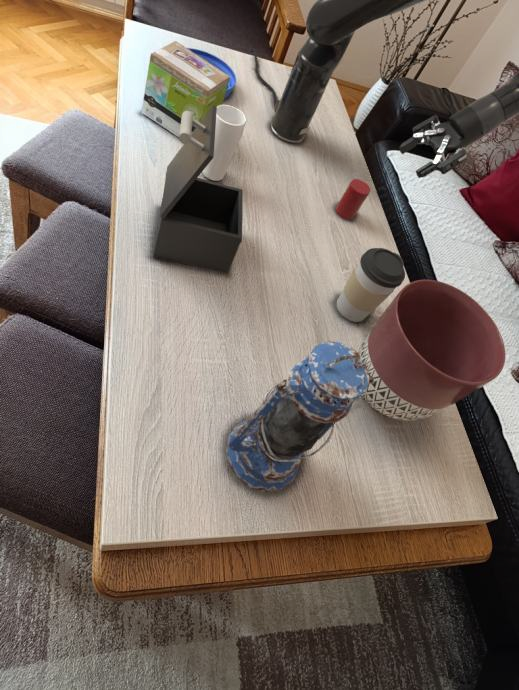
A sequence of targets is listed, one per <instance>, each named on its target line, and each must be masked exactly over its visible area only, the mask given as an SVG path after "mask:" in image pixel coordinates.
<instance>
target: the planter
mask: <svg viewBox="0 0 519 690" xmlns="http://www.w3.org/2000/svg"><path fill="white" fill-rule="evenodd" d="M357 353H358V354H359V355H360V357H361V358H362V359H363V360H364V362H365V364H366V366H367V369H368V372H369V376H372V377H373V379H374V384H370V383H369V385H368V386H367V388H366V390H365V392H364V393H363V394H362V395H361V396H362V397H363V399H364V400H365V401H366V402H367V404H368V405H370V407H371V408H372V409H374V410H375V411H377V412H378V413H380V414H382V415H383V416H385V417H388V418H390V419H393V420H398V421H404V422H405V421H406V422H409V421H419V420H423V419H426V418H429V417H432V416H434V415H437V414H438V413H441V412H442V411H444V410H446V409H447V408H449V407H451V406H452V405H454V404H456V403H457V402H459V401H460V400H462V399H464V398H465V397H467V396H469V395H471V394H472V393H474V392H476V391H478V390H479V389H481V388H483V387H484V386H486V385H488V384H489V383H490V382H492V381H493V380H495V379H497V377H498V376H499V375H500V374H501V373H502V371H503V369H504V367H505V363H506V346H505V342H504V339H503V336H502V334H501V332H500V329H499V328H498V326H497V324H496V322H495V321H494V320H493V318H492V317H491V316H490V315H489V313H488V312H487V311H486V309H484V307H483V306H482V305H481V304H479V303H478V302H477V301H476V299H474V298H472V296H470V295H469V294H467V292H464V291H462V290H461V289H459V288H458V287H455V286H453V285H451V284H449V283H446V282H443V281H439V280H434V279H419V280H414V281H411V282H409V283H407V284H406V285H404V286H403V287H402V288H401V289H400V291H399V292H398V293H397V295H396V296H394V298H393V299H392V300H391V302H390V304H388V306H387V308H386V309H385V310H384V312H383V313H382V314H381V316H380V317H379V318H378V319H377V320H376V322H375V323H374V324H373V326H372V327H371V329H370V330H369V332H368V333H367V334H366V336H365V337H364V338H363V340H362V342H361V343H360V346H359V348H358V351H357Z"/></svg>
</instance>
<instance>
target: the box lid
mask: <svg viewBox="0 0 519 690" xmlns="http://www.w3.org/2000/svg"><path fill="white" fill-rule="evenodd" d="M216 113H217V107H216V106H214V105H213V106H212V107H211V108H210V110H209V111H208V112H207V114H206V115H205V116H204V118H203V119H202V120H201V122H200V123H199V122H198V121H196V120H195V119H193V114H192V113H191V112H189V111H185V112H183V113H182V118H181V126H180V133H179V137H178V139H179V141H180V142H181V143H183V145H182V146H181V147H180V149H179V150H178V152H177V153H176V154H175V155H174V157H173V158H172V159H171V161H170V162H169V163H168V165H167V166H166V172H165V179H164V186H163V194H162V198H163V199H162V198H161V203H162V206H161V205H160V207H161V213H160V212H159V213H160V217H162V218H163V219H164V218H165V217H166V215H167V214H168V213H169V212H170V211H171V209H172V208H173V207H174V206H175V204H176V203H177V202H178V201H179V199H180V198H181V197H182V196H183V195H184V193H185V192H186V191H187V190H188V188H189V187H190V186H191V185H192V184H193V182H194V181H195V180H196V179H197V178H199V176H200V175H201V174H202V171H203V170H204V169H205V168H206V166H207V165H208V164H209V163H210V161H211V160H212V159H213V158H214V143H215V128H216ZM192 125H194V126H195V127H196V129H195V130H194V131H193V133H192V134H191V131H192Z"/></svg>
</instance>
